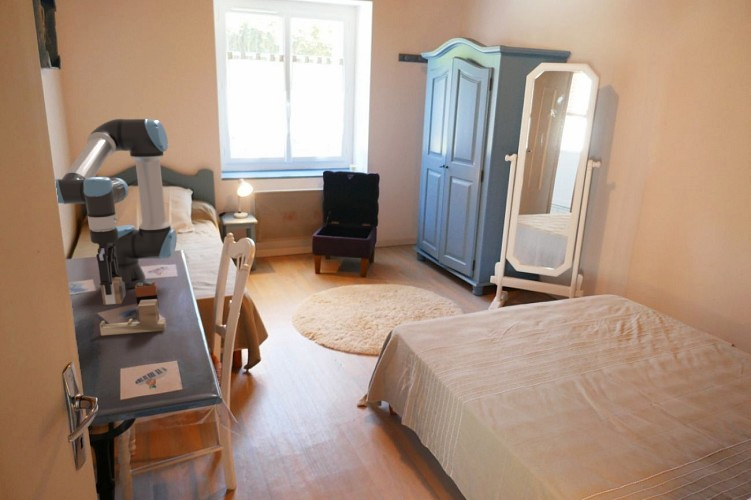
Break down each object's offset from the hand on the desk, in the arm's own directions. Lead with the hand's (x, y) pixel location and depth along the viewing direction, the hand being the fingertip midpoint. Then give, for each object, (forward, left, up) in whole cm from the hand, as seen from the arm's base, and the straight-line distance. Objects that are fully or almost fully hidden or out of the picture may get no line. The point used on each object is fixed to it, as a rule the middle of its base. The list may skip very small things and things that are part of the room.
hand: (113, 300), depth 163 cm
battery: (-19, +6, -11) cm, 23 cm away
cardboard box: (0, 0, 0) cm, 0 cm away
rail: (0, +5, -11) cm, 12 cm away
